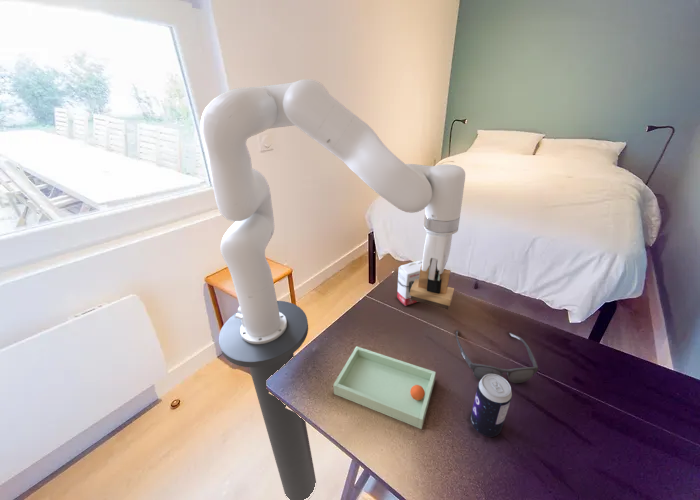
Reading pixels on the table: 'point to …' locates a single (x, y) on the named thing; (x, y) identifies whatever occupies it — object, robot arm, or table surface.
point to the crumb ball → (417, 392)
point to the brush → (434, 299)
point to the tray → (385, 385)
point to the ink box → (407, 281)
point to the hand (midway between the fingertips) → (434, 288)
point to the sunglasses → (513, 374)
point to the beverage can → (491, 404)
